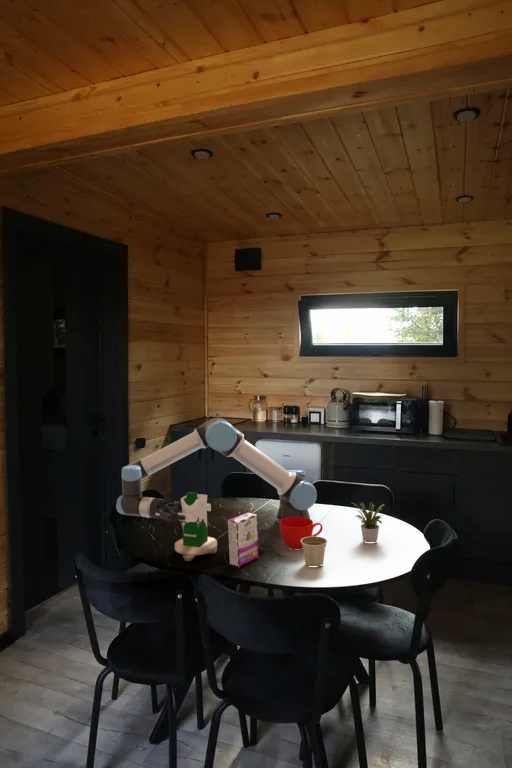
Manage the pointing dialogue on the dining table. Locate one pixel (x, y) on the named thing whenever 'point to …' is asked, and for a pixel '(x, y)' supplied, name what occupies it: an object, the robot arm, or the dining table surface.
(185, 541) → the soya milk
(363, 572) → the dining table surface
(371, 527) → the house plant
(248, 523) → the candy bar box
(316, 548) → the flower pot
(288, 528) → the ceramic cup
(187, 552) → the stand
